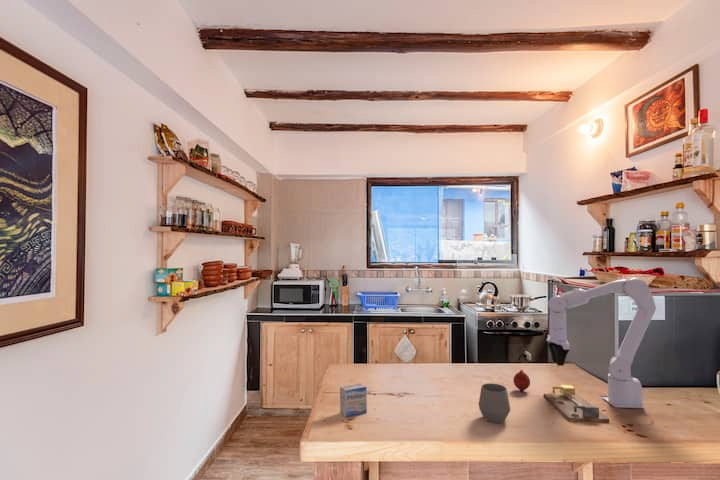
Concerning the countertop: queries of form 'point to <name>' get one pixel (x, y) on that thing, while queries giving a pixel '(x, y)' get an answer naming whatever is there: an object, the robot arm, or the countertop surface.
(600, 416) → the gauge board
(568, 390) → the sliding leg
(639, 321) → the robot arm
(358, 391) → the medicine box
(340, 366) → the countertop surface
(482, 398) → the cup
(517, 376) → the onion
